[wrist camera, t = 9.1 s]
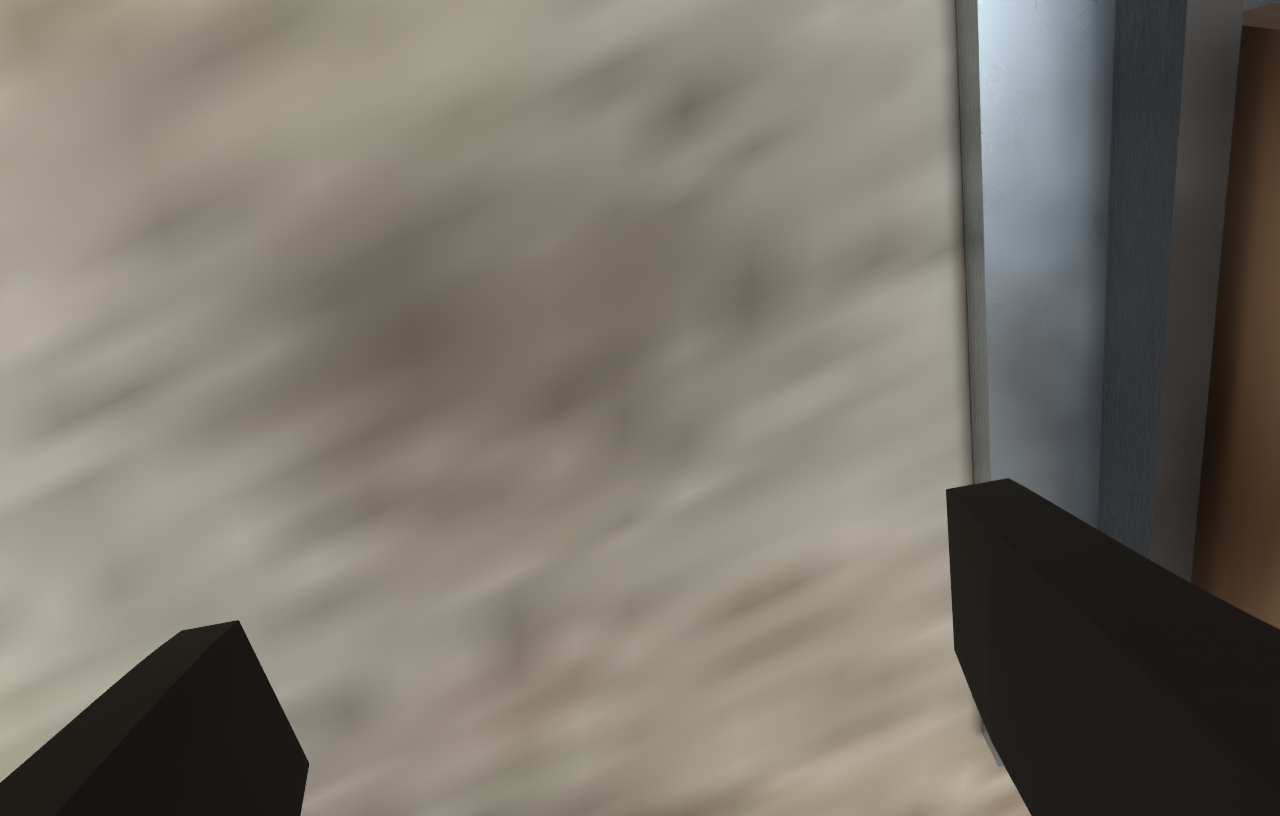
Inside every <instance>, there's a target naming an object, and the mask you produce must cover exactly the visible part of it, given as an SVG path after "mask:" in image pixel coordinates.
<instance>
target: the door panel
mask: <svg viewBox="0 0 1280 816" xmlns="http://www.w3.org/2000/svg"><path fill="white" fill-rule="evenodd" d="M1191 583H1192V584H1194V585H1196V586H1198V587H1199V588H1201V589H1203V590H1205V591H1207V592H1209V593H1210V594H1212V595H1214V596H1216V597H1218V598H1220V599H1222V600H1224V601H1226V602H1227V603H1229V604H1231V605H1233V606H1235V607H1237V608H1239V609H1241V610H1243V611H1245V612H1246V613H1248V614H1250V615H1252V616H1254V617H1256V618H1258V619H1260V620H1262V621H1264V622H1266V623H1268V624H1270V625H1272V626H1274V627H1276V628H1278V629H1280V3H1277V4H1272V5H1267V6H1263V7H1258V8H1253V9H1248V10H1243V19H1242V30H1241V41H1240V52H1239V63H1238V74H1237V85H1236V96H1235V107H1234V118H1233V129H1232V140H1231V151H1230V161H1229V172H1228V183H1227V194H1226V205H1225V216H1224V227H1223V238H1222V249H1221V260H1220V271H1219V282H1218V293H1217V304H1216V315H1215V326H1214V337H1213V348H1212V359H1211V370H1210V381H1209V392H1208V403H1207V414H1206V425H1205V436H1204V446H1203V457H1202V468H1201V479H1200V490H1199V501H1198V512H1197V523H1196V534H1195V545H1194V556H1193V567H1192V578H1191Z"/></svg>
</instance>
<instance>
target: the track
mask: <svg viewBox="0 0 1280 816" xmlns="http://www.w3.org/2000/svg"><path fill="white" fill-rule="evenodd" d="M1277 3H1280V0H956V17H957V44H958V71H959V98H960V125H961V152H962V179H963V206H964V232H965V259H966V286H967V313H968V340H969V367H970V394H971V421H972V448H973V474H974V484H979V483H984V482H989V481H995V480H1000V479H1006V478H1010V479H1012V480H1013V481H1015V482H1017V483H1019V484H1021V485H1023V486H1024V487H1026V488H1028V489H1030V490H1031V491H1033V492H1035V493H1037V494H1038V495H1040V496H1042V497H1043V498H1045V499H1047V500H1048V501H1050V502H1052V503H1054V504H1055V505H1057V506H1059V507H1060V508H1062V509H1064V510H1065V511H1067V512H1069V513H1070V514H1072V515H1074V516H1075V517H1077V518H1079V519H1080V520H1082V521H1084V522H1086V523H1087V524H1089V525H1091V526H1092V527H1094V528H1096V529H1097V530H1099V531H1101V532H1103V533H1104V534H1106V535H1108V536H1109V537H1111V538H1113V539H1114V540H1116V541H1118V542H1120V543H1121V544H1123V545H1125V546H1126V547H1128V548H1130V549H1132V550H1133V551H1135V552H1137V553H1139V554H1140V555H1142V556H1144V557H1146V558H1147V559H1149V560H1151V561H1153V562H1154V563H1156V564H1158V565H1160V566H1161V567H1163V568H1165V569H1167V570H1169V571H1170V572H1172V573H1174V574H1176V575H1178V576H1179V577H1181V578H1183V579H1185V580H1187V581H1188V582H1190V583H1191V578H1192V567H1193V556H1194V545H1195V534H1196V523H1197V512H1198V501H1199V490H1200V479H1201V468H1202V457H1203V446H1204V436H1205V425H1206V414H1207V403H1208V392H1209V381H1210V370H1211V359H1212V348H1213V337H1214V326H1215V315H1216V304H1217V293H1218V282H1219V271H1220V260H1221V249H1222V238H1223V227H1224V216H1225V205H1226V194H1227V183H1228V172H1229V161H1230V151H1231V140H1232V129H1233V118H1234V107H1235V96H1236V85H1237V74H1238V63H1239V52H1240V41H1241V30H1242V19H1243V10H1248V9H1253V8H1258V7H1263V6H1267V5H1272V4H1277ZM983 736H984V738H985V740H986V742H987V744H988V746H989V748H990V750H991V752H992V754H993V756H994V758H995V760H996V762H997V764H998V766H1004V764H1003V762H1002V760H1001V759H1000V757H999V755H998V753H997V751H996V749H995V747H994V745H993V744H992V742H991V739H990V737H989V734H988V732H987V730H986V727H985V725H984V722H983Z"/></svg>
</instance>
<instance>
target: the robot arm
mask: <svg viewBox="0 0 1280 816" xmlns="http://www.w3.org/2000/svg"><path fill="white" fill-rule="evenodd" d="M946 499H947V518H948V537H949V556H950V574H951V593H952V612H953V631H954V650H955V652H956V655H957V657H958V660H959V663H960V665H961V668H962V670H963V673H964V675H965V678H966V680H967V683H968V686H969V688H970V691H971V693H972V696H973V698H974V701H975V703H976V706H977V708H978V710H979V713H980V715H981V718H982V720H983V722H984V725H985V727H986V730H987V732H988V734H989V737H990V739H991V742H992V744H993V745H994V747H995V749H996V751H997V753H998V755H999V757H1000V759H1001V760H1002V762H1003V764H1004V766H1005V768H1006V770H1007V772H1008V773H1009V775H1010V777H1011V779H1012V781H1013V783H1014V784H1015V786H1016V788H1017V790H1018V792H1019V794H1020V795H1021V797H1022V799H1023V801H1024V803H1025V805H1026V806H1027V808H1028V810H1029V812H1030V814H1031V815H1032V816H1280V629H1278V628H1276V627H1274V626H1272V625H1270V624H1268V623H1266V622H1264V621H1262V620H1260V619H1258V618H1256V617H1254V616H1252V615H1250V614H1248V613H1246V612H1245V611H1243V610H1241V609H1239V608H1237V607H1235V606H1233V605H1231V604H1229V603H1227V602H1226V601H1224V600H1222V599H1220V598H1218V597H1216V596H1214V595H1212V594H1210V593H1209V592H1207V591H1205V590H1203V589H1201V588H1199V587H1198V586H1196V585H1194V584H1192V583H1190V582H1188V581H1187V580H1185V579H1183V578H1181V577H1179V576H1178V575H1176V574H1174V573H1172V572H1170V571H1169V570H1167V569H1165V568H1163V567H1161V566H1160V565H1158V564H1156V563H1154V562H1153V561H1151V560H1149V559H1147V558H1146V557H1144V556H1142V555H1140V554H1139V553H1137V552H1135V551H1133V550H1132V549H1130V548H1128V547H1126V546H1125V545H1123V544H1121V543H1120V542H1118V541H1116V540H1114V539H1113V538H1111V537H1109V536H1108V535H1106V534H1104V533H1103V532H1101V531H1099V530H1097V529H1096V528H1094V527H1092V526H1091V525H1089V524H1087V523H1086V522H1084V521H1082V520H1080V519H1079V518H1077V517H1075V516H1074V515H1072V514H1070V513H1069V512H1067V511H1065V510H1064V509H1062V508H1060V507H1059V506H1057V505H1055V504H1054V503H1052V502H1050V501H1048V500H1047V499H1045V498H1043V497H1042V496H1040V495H1038V494H1037V493H1035V492H1033V491H1031V490H1030V489H1028V488H1026V487H1024V486H1023V485H1021V484H1019V483H1017V482H1015V481H1013V480H1012V479H1010V478H1006V479H1000V480H995V481H989V482H984V483H979V484H973V485H968V486H962V487H957V488H951V489H946ZM308 768H309V762H308V760H307V758H306V756H305V754H304V752H303V750H302V748H301V746H300V744H299V742H298V740H297V738H296V736H295V733H294V731H293V729H292V727H291V725H290V723H289V721H288V719H287V717H286V715H285V713H284V711H283V709H282V707H281V705H280V703H279V701H278V699H277V697H276V695H275V693H274V691H273V689H272V687H271V685H270V683H269V681H268V679H267V677H266V675H265V673H264V670H263V668H262V666H261V664H260V662H259V660H258V658H257V656H256V654H255V652H254V650H253V648H252V646H251V644H250V642H249V640H248V638H247V636H246V634H245V632H244V630H243V628H242V626H241V624H240V622H239V620H237V621H232V622H226V623H221V624H215V625H210V626H204V627H199V628H194V629H188V630H183V631H181V632H179V633H178V634H176V635H175V636H174V637H172V638H171V639H170V640H168V641H167V642H165V643H164V644H163V645H161V646H160V647H159V648H158V649H156V650H155V651H154V652H152V653H151V654H150V655H149V656H147V657H146V658H145V659H144V660H143V661H141V662H140V663H139V664H138V665H136V666H135V667H134V668H133V669H132V670H130V671H129V672H128V673H127V674H126V675H124V676H123V677H122V678H121V679H120V680H119V681H117V682H116V683H115V684H114V685H113V686H112V687H110V688H109V689H108V690H107V691H106V692H105V693H103V694H102V695H101V696H100V697H99V698H98V699H96V700H95V701H94V702H93V703H92V704H91V705H90V706H88V707H87V708H86V709H85V710H84V711H83V712H81V713H80V714H79V715H78V716H77V717H76V718H75V719H73V720H72V721H71V722H70V723H69V724H68V725H67V726H65V727H64V728H63V729H62V730H61V731H60V732H58V733H57V734H56V735H55V736H54V737H53V738H52V739H50V740H49V741H48V742H47V743H46V744H45V745H43V746H42V747H41V748H40V749H39V750H38V751H37V752H35V753H34V754H33V755H32V756H31V757H30V758H28V759H27V760H26V761H25V762H24V763H23V764H22V765H20V766H19V767H18V768H17V769H16V770H15V771H13V772H12V773H11V774H10V775H9V776H8V777H6V778H5V779H4V780H3V781H2V782H1V783H0V816H300V815H301V809H302V803H303V797H304V791H305V785H306V780H307V774H308Z"/></svg>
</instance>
